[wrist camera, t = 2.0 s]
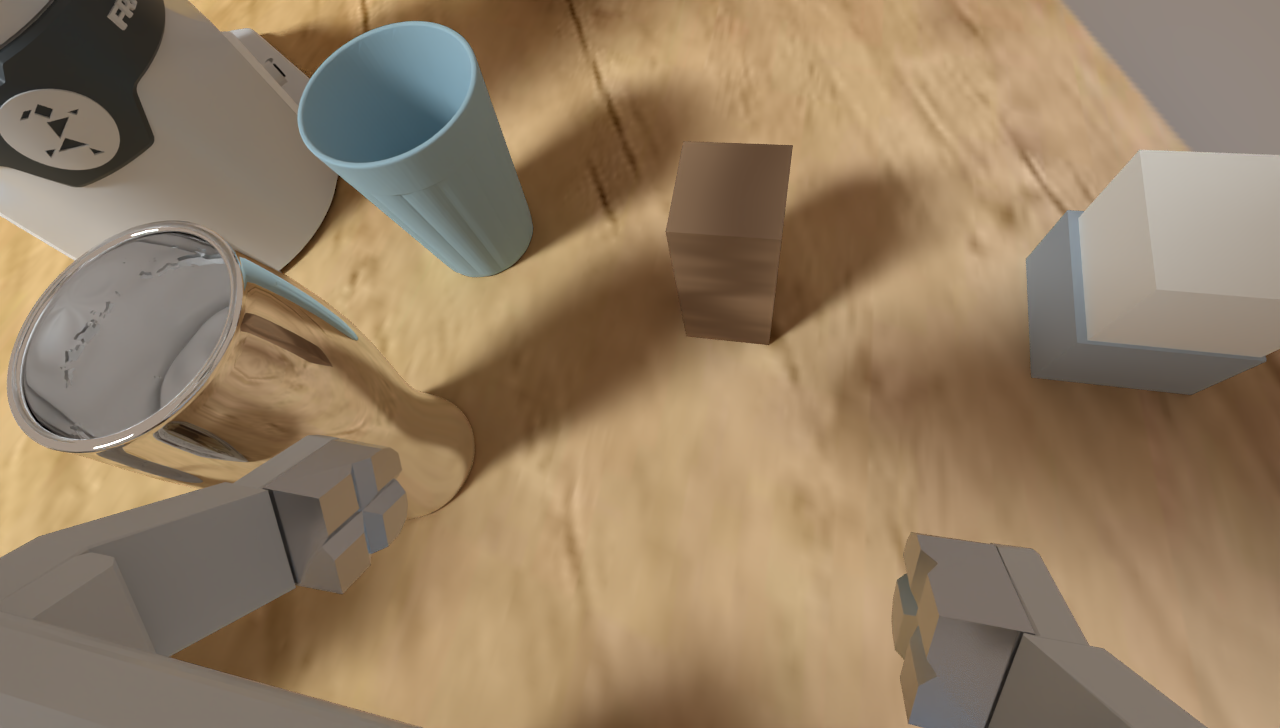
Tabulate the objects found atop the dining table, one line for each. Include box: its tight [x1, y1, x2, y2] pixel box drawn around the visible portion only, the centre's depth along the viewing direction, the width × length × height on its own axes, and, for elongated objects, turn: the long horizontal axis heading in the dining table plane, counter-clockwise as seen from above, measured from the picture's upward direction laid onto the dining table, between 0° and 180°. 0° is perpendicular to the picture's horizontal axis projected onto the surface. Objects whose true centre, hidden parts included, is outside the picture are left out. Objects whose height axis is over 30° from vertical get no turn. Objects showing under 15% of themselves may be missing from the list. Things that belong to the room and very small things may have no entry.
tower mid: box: [1078, 150, 1280, 357], centre depth 21 cm, size 6×6×4 cm
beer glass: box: [7, 221, 475, 519], centre depth 22 cm, size 7×7×15 cm
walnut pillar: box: [666, 141, 793, 345], centre depth 25 cm, size 4×4×9 cm
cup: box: [297, 21, 533, 277], centre depth 28 cm, size 8×8×10 cm
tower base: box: [1026, 210, 1266, 395], centre depth 24 cm, size 6×6×4 cm
